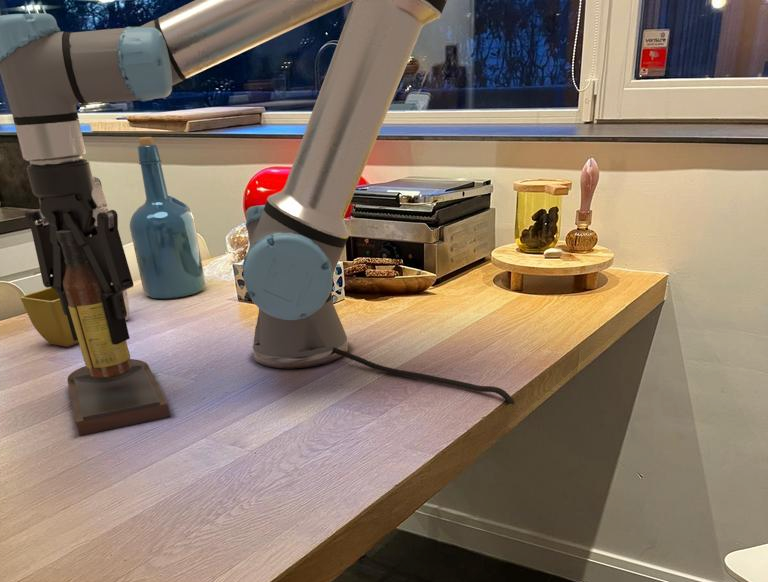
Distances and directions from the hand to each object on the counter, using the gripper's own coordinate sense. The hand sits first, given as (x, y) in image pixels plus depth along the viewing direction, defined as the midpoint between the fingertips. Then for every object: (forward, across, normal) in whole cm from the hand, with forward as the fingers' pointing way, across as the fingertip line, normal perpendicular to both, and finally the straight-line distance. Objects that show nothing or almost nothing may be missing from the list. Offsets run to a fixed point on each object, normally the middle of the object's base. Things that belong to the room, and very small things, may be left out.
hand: (101, 339), depth 109 cm
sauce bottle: (+5, 0, 0) cm, 5 cm away
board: (+9, +1, -1) cm, 9 cm away
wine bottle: (+9, +30, -54) cm, 62 cm away
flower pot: (+9, +28, -20) cm, 36 cm away
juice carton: (+9, +31, -32) cm, 46 cm away
